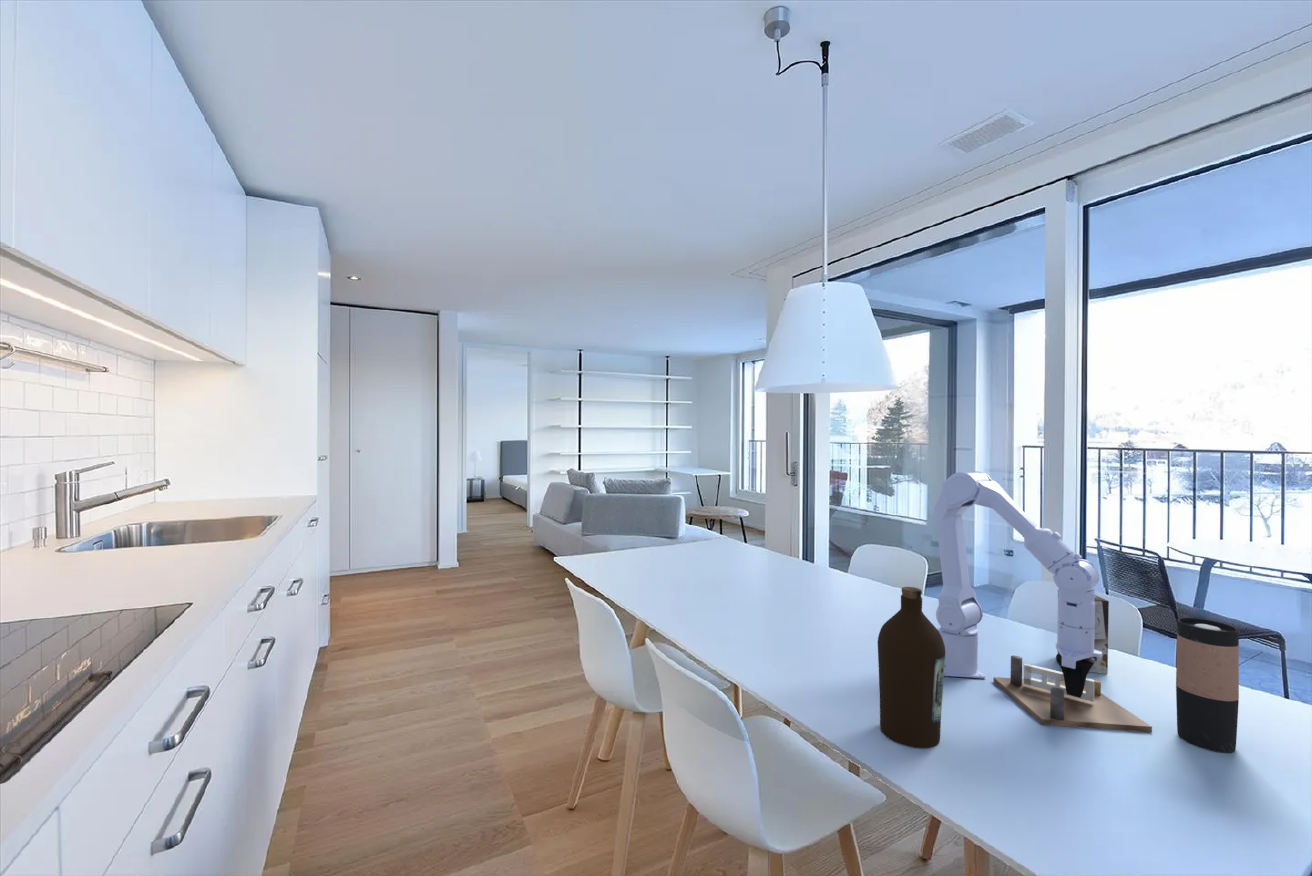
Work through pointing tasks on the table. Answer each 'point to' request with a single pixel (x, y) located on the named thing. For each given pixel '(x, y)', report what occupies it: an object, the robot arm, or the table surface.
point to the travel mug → (1207, 684)
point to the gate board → (1068, 705)
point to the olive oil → (911, 675)
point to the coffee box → (1100, 635)
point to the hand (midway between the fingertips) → (1074, 695)
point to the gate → (1058, 677)
